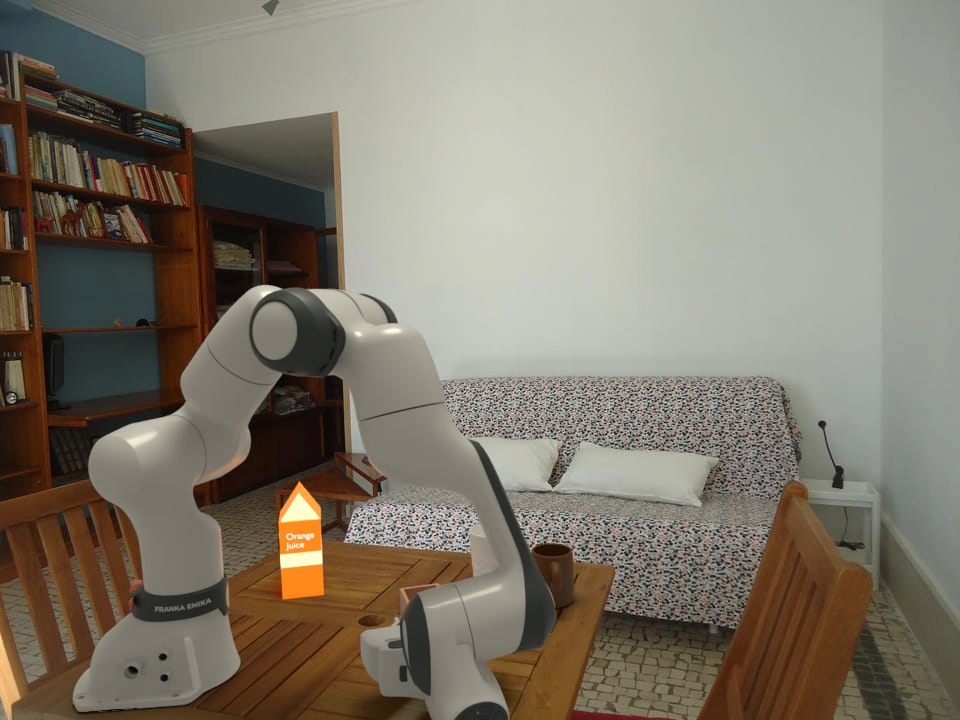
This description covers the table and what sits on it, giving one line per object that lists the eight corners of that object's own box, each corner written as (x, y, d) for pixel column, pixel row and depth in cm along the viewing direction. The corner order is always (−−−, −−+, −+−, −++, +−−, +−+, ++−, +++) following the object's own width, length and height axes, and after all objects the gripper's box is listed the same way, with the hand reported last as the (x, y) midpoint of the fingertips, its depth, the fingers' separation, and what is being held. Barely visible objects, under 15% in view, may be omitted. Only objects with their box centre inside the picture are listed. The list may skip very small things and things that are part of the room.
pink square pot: (410, 674, 104) (408, 607, 103) (401, 651, 110) (399, 588, 110) (451, 667, 105) (449, 601, 105) (439, 645, 112) (438, 583, 111)
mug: (580, 619, 123) (579, 566, 122) (535, 621, 123) (534, 567, 122) (570, 591, 135) (570, 541, 134) (529, 592, 135) (528, 543, 134)
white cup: (486, 569, 147) (485, 521, 146) (519, 577, 142) (518, 527, 141) (462, 582, 140) (461, 532, 139) (496, 591, 136) (495, 539, 135)
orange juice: (281, 599, 135) (276, 494, 133) (283, 581, 143) (278, 482, 141) (324, 594, 136) (320, 490, 135) (324, 577, 145) (319, 479, 143)
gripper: (520, 627, 98) (489, 588, 111) (368, 651, 92) (354, 606, 105) (520, 672, 98) (490, 627, 111) (369, 698, 92) (356, 648, 106)
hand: (423, 617), depth 108 cm, fingers closed on pink square pot, 6 cm apart
